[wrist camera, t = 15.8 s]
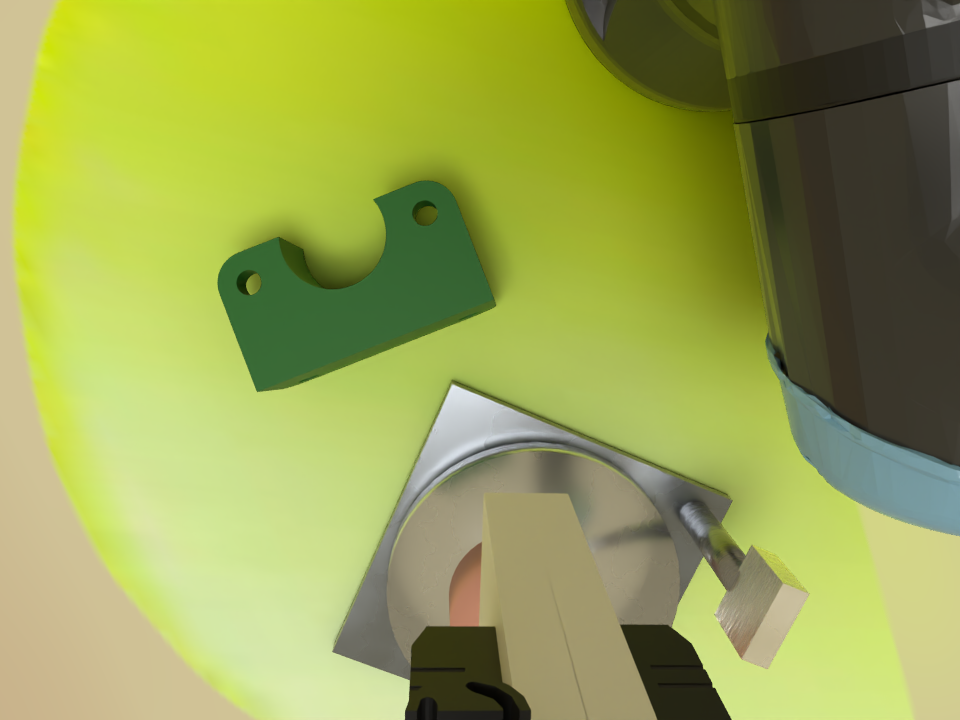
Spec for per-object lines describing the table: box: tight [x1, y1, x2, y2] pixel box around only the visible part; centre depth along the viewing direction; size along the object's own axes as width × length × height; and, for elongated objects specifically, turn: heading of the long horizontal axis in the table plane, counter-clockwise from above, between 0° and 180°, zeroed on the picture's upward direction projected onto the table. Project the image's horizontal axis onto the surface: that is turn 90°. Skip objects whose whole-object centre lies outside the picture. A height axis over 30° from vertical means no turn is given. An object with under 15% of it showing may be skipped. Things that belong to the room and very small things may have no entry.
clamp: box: [218, 181, 496, 392], centre depth 42 cm, size 12×6×9 cm, turn 105°
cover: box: [449, 542, 482, 626], centre depth 43 cm, size 7×7×4 cm
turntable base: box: [333, 381, 809, 680], centre depth 42 cm, size 16×16×12 cm
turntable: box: [387, 442, 680, 665], centre depth 43 cm, size 15×15×8 cm
